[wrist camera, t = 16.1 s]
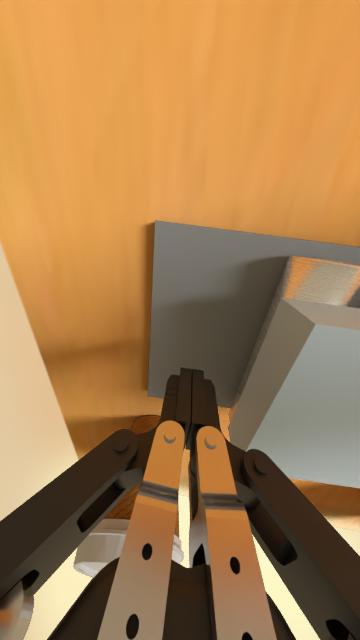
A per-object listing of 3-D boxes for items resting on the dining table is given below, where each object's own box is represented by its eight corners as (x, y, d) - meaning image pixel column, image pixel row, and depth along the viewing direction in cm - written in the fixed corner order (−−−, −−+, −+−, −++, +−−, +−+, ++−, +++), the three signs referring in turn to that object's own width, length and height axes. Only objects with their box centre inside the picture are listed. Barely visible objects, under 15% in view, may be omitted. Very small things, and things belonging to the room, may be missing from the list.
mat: (157, 221, 13) (154, 220, 12) (681, 289, 12) (719, 293, 12) (149, 389, 21) (147, 396, 20) (463, 433, 21) (475, 442, 20)
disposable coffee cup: (143, 451, 28) (112, 586, 17) (108, 415, 24) (42, 559, 14) (198, 441, 26) (201, 591, 15) (169, 399, 22) (145, 560, 11)
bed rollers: (279, 252, 12) (313, 261, 9) (477, 278, 12) (594, 298, 9) (226, 401, 20) (233, 438, 16) (349, 418, 20) (383, 460, 16)
